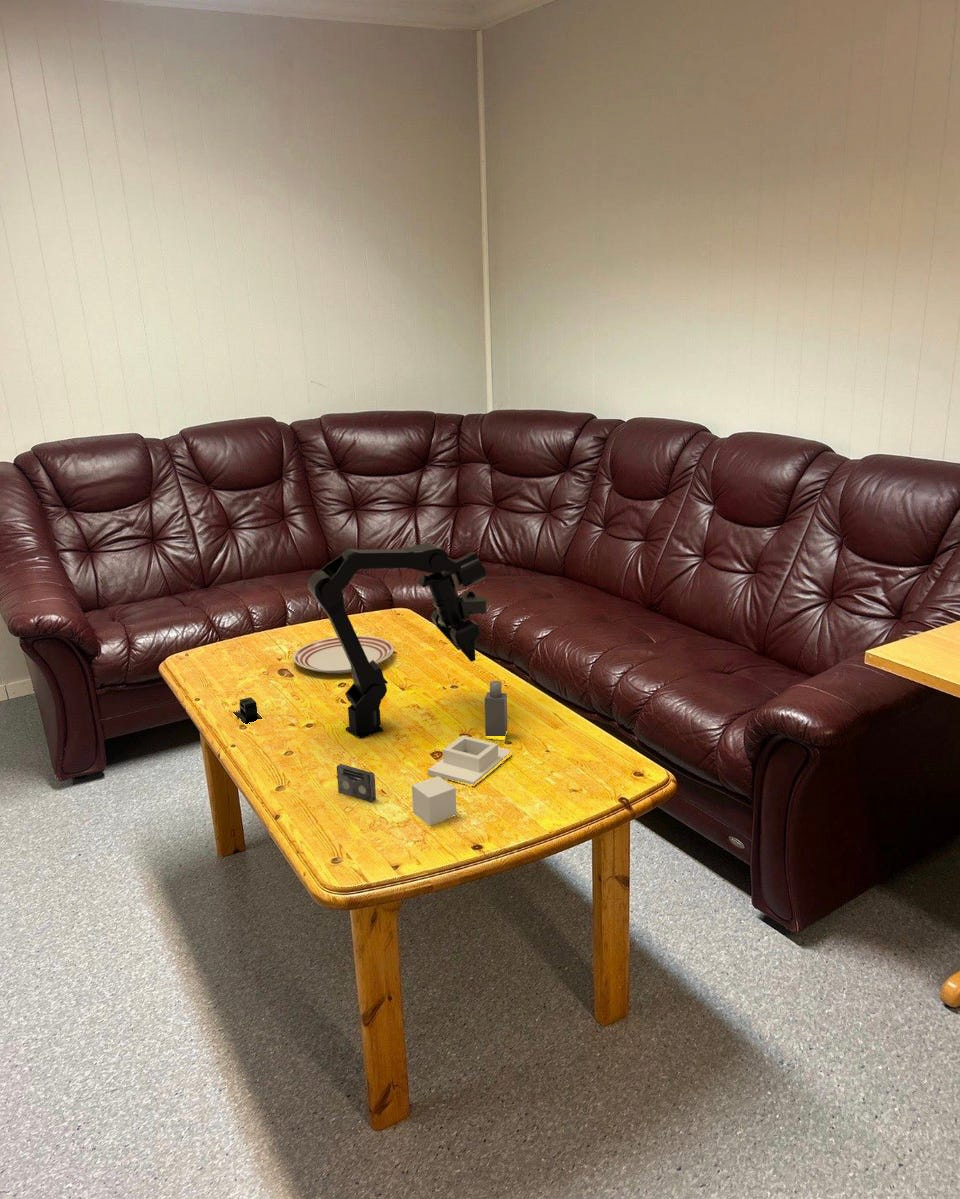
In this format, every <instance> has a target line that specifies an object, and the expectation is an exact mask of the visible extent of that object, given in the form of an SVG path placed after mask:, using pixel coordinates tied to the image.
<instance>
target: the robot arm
mask: <svg viewBox="0 0 960 1199" xmlns="http://www.w3.org/2000/svg"><path fill="white" fill-rule="evenodd" d="M373 569H374V570H378V569H379V570H380V569H410V570H416V571H418V572H423V573H421V576H420V578H419V579H418V580H417V585H418V586H421V588H426V587H428V588H429V591H430V594H431V598H432V599H433V601H432V605H433V607H434V608H435V610H433V611H432V613H431V615H430V619H431V620H432V623H433V624H434V625H435V627H436V628H437V629H438V630H439V631H440V632H441V633H442V635H443V636H445V638H446V639H447V640H448V641H449V643H451V644H452V646H454V648H455V649H457V651H461V652H462V653H463V654H464V656H465V657H466V658H467V659H468V660H469V662H475V661H476V639H477V638H479V636H480V635H481V634H482V628H481V627H480V624H478V623H477V622H475V621H474V620H472V619H470V618H471V616H470V615H476V614H478V615H479V614H481V615H486V614H487V609H488V608H487V606H488V603H487V602H488V601H487V599H486V598H484V597H483V596H481V595H477V594H475V592H474V591H472V590H466V591H464V592H465V593H464V594H463V596H460V595H459V593H458V589H456V586H460V587H461V588H463V589H465V588H467V587H469V586H472V585H473V584H475V583H478V582H480V581H482V580H484V579H486V578H487V571H486V568H485V566H484V565H483V563H482V562H481V560H480V559H479V557H478V554H477V553H476V552H474V551H471V552H468V553H466V554H465V555H463V556H461V557H458V558H457V559H455V560H454V559H452V558H450V557H449V556H448V554H447V552H446V551H445V550H444V549H442V548H440V546H437V545H436V544H434V543H430V542H425V543H421V544H416V545H412V546H410V547H407V548H392V549H391V548H389V549H388V548H386V549H385V548H383V549H380V548H378V549H368V548H367V549H355V548H347V549H345V550H344V551H342V553H340V554H339V556H337V557H336V558H334V559H332V560H331V561H330V562H328V563H326V564H325V566H323V567H322V568H321V569H320V570H319V571H318V570H317V571H315V572H314V573H312V574H311V575H310V576H309V578H308V581H307V589H308V591H309V592H310V593H311V595H312V597H313V598H314V599H315V600H316V602H317V603H318V604H319V606H320V607H321V608H322V610H323V611H324V612H325V613H326V615H327V618H328V620H329V621H330V624H331V625H332V628H333V630H334V633H335V634H336V637H338V639H339V641H340V643H341V645H342V647H343V649H344V652H345V654H346V656H347V658H348V660H349V662H350V665H351V677H352V681H353V684H351V686H350V687H349V688H348V690H346V691H345V693H344V695H345V697H346V699H347V701H348V702H349V703H350V704H351V705H350V706H348V707H347V714H348V715H347V716H348V726H347V727H345V731H346V732H348V733H350V734H351V735H353V736H355V737H357V738H358V739H363V738H367V737H369V736H372V735H375V734H378V733H381V732H382V731H384V727H382V726H381V725H382V723H381V722H382V721H381V709H380V706H381V703H382V700H383V699H384V698H385V696H386V694H387V692H388V688H387V684H389V681H387V680H386V678H384V674H383V669H382V668H381V667H380V665H379V664H377V663H376V662H375V661H374V660H372V661H371V662H369V661H368V659H367V657H366V655H365V652H364V650H363V648H362V646H361V644H360V642H359V639H358V637H357V636H358V635H357V633H356V631H355V629H354V626H353V624H352V622H351V619H350V617H349V615H348V613H347V611H346V606H345V598H344V594H343V590H344V589H345V588H346V587H347V586H348V584H350V582H351V580H352V579H353V577H354V576H355V574H356V573H357V572H358V571H359V570H373ZM425 573H429V574H425ZM466 619H468V620H466ZM465 620H466V621H465Z"/></svg>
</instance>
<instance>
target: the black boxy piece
mask: <svg viewBox="0 0 960 1199" xmlns="http://www.w3.org/2000/svg"><path fill="white" fill-rule="evenodd" d="M238 704H239V710H240V711H239V710H235V711H236V712H235V711H232V712H233V713H234V714H235V715H236V716H237V717H238V718H240V719H241V721H242V722H243V723H245V724H248V723H249V722H254V721H256V720H257V719H262V717H261V716H260V715H259V714H258V713H257V711H258V705H257V702H256V701H255V699H254V698H253V697H252V696H251V697H246V698H241V699H239V703H238ZM237 711H238V712H237ZM249 724H250V723H249Z"/></svg>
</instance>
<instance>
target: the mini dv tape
mask: <svg viewBox="0 0 960 1199" xmlns="http://www.w3.org/2000/svg"><path fill="white" fill-rule="evenodd" d="M336 774H337V776H336V778H337V788H338V789H337V790H338V791H337V792H338V793H339V794H341V795H344V796H345V795H346V796H349V797H351V798H355V799H358V800H362V801H364V802H368V803H374V801H375V800H377V794H376V792H377V791H376V777H375V776H376V775H375V773H374V772H372V771H368V770H364V769H362V768H361V769H360V768H357V767H355V766H354V767H353V766H350V765H347V764H343V763H339V764H337V765H336Z"/></svg>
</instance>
